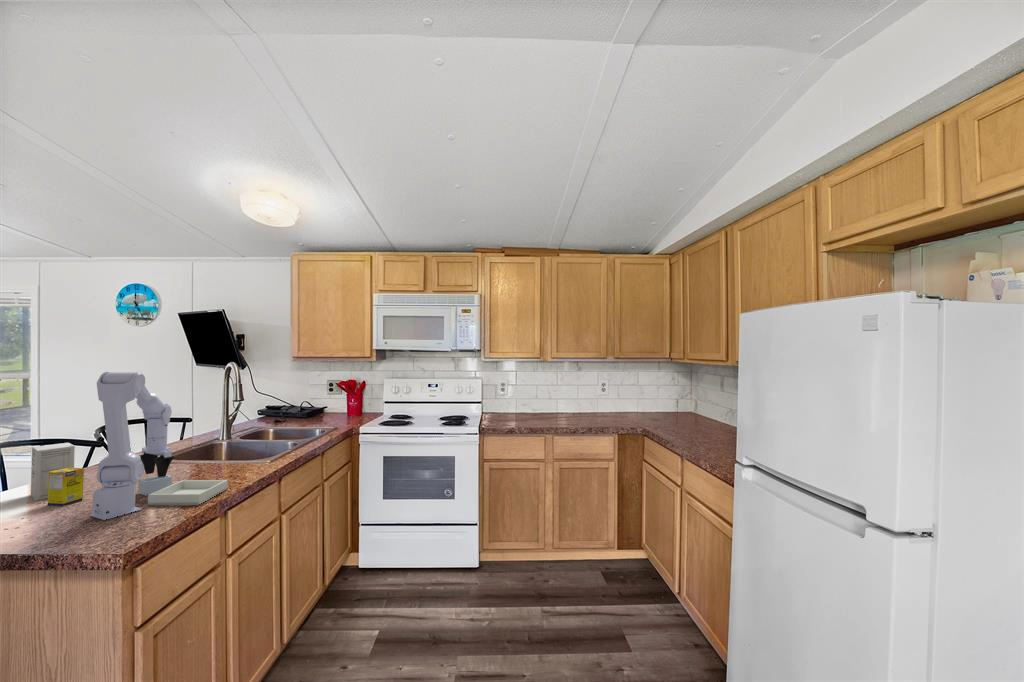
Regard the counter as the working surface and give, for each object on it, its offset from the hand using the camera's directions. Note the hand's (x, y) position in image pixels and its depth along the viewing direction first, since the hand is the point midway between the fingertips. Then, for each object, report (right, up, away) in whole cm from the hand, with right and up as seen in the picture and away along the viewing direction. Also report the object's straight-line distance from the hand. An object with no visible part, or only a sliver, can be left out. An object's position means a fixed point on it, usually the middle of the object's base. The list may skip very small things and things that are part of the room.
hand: (155, 475), depth 154 cm
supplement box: (-20, -6, -12) cm, 24 cm away
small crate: (0, -6, 0) cm, 6 cm away
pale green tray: (+16, -6, -5) cm, 18 cm away
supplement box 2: (-33, -6, -5) cm, 33 cm away
